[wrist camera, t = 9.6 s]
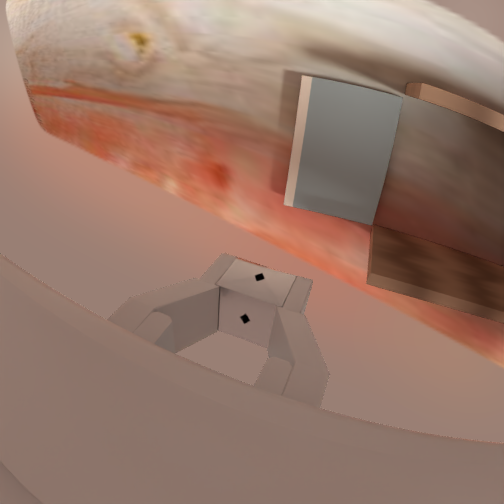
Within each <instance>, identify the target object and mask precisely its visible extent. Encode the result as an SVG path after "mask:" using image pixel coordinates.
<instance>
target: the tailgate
mask: <svg viewBox="0 0 504 504" xmlns="http://www.w3.org/2000/svg"><path fill="white" fill-rule="evenodd" d="M402 100H403V98H402V97H399V96H396V95H392V94H388V93H385V92H381V91H377V90H373V89H369V88H365V87H361V86H356V85H352V84H347V83H342V82H338V81H332V80H327V79H322V78H316V77H310V76H304V75H302V79H301V87H300V94H299V102H298V109H297V117H296V124H295V131H294V138H293V145H292V152H291V159H290V166H289V172H288V179H287V186H286V192H285V199H284V205H286V206H290V207H296V208H301V209H305V210H309V211H314V212H318V213H322V214H327V215H331V216H335V217H339V218H344V219H348V220H352V221H356V222H360V223H364V224H368V225H372V223H373V220H374V216H375V213H376V209H377V206H378V202H379V199H380V195H381V191H382V188H383V184H384V180H385V176H386V172H387V168H388V164H389V160H390V156H391V152H392V148H393V143H394V139H395V134H396V130H397V125H398V120H399V115H400V110H401V105H402Z"/></svg>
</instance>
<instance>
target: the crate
mask: <svg viewBox="0 0 504 504" xmlns="http://www.w3.org/2000/svg"><path fill="white" fill-rule="evenodd" d="M405 95H408V96H411V97H415V98H418V99H421V100H424V101H427V102H430V103H433V104H436V105H439V106H441V107H444V108H447V109H450V110H452V111H455V112H458V113H460V114H463V115H465V116H468V117H470V118H473V119H475V120H478V121H480V122H482V123H485V124H487V125H489V126H491V127H494V128H496V129H498V130H500V131H502V132H504V115H502V114H500V113H498V112H496V111H494V110H492V109H490V108H487V107H485V106H483V105H480V104H478V103H476V102H473V101H471V100H469V99H466V98H464V97H461V96H458V95H456V94H453V93H451V92H448V91H445V90H442V89H439V88H437V87H434V86H431V85H428V84H425V83H407V86H406V91H405ZM366 284H369V285H372V286H375V287H379V288H382V289H386V290H389V291H393V292H396V293H400V294H403V295H407V296H410V297H414V298H417V299H421V300H424V301H428V302H431V303H435V304H438V305H442V306H445V307H448V308H452V309H455V310H459V311H462V312H466V313H469V314H473V315H476V316H480V317H483V318H487V319H490V320H494V321H497V322H501V323H504V267H503V266H500V265H497V264H495V263H492V262H489V261H486V260H484V259H481V258H478V257H475V256H472V255H469V254H466V253H463V252H460V251H457V250H454V249H451V248H448V247H445V246H442V245H439V244H436V243H433V242H430V241H427V240H424V239H420V238H417V237H414V236H411V235H408V234H404V233H401V232H398V231H394V230H391V229H388V228H384V227H381V226H378V225H374V224H373V227H372V231H371V235H370V249H369V262H368V273H367V283H366Z"/></svg>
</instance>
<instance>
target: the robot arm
mask: <svg viewBox="0 0 504 504" xmlns="http://www.w3.org/2000/svg"><path fill="white" fill-rule="evenodd" d="M312 283H313V280H311V279H307V278H304V277H300V276H295V275H291V274H288V273H284V272H281V271H278V270H275V269H271V268H268V267H266V266H263V265H260V264H257V263H254V262H251V261H248V260H245V259H242V258H238V257H236V256H233V255H229V254H227V253H223V254H221V255H220V256H219V257H218V258H217V259H216V260H215V262H214V263H213V264H212V265H211V266H210V267H209V269H208V270H207V271H206V272H205V273H204V274H203V275H202V276H201V278H200V279H197V278H193V279H189V280H187V281H183V282H180V283H176V284H173V285H170V286H166V287H163V288H160V289H157V290H153V291H150V292H146V293H143V294H140V295H136V296H133V297H130V298H129V299H128V300H127V301H126V302H125V303H124V304H123V305H121V306H120V307H119V308H118V310H116V311H115V312H114V314H112V315H111V316H110V317H109V318H108V319H104V318H103V317H101V316H99V315H97V314H96V313H94V312H92V311H90V310H88V309H87V308H85V307H83V306H81V305H80V304H78V303H76V302H75V301H73V300H71V299H69V298H68V297H66V296H64V295H63V294H61V293H60V292H58V291H56V290H55V289H53V288H51V287H50V286H48V285H47V284H45V283H44V282H42V281H40V280H39V279H37V278H36V277H34V276H33V275H31V274H30V273H28V272H27V271H25V270H24V269H22V268H21V267H19V266H18V265H16V264H15V263H13V262H12V261H11V260H9V259H8V258H6V257H5V256H3V255H2V254H1V253H0V504H504V443H496V442H485V441H476V440H468V439H460V438H453V437H446V436H440V435H434V434H428V433H422V432H417V431H412V430H406V429H402V428H397V427H392V426H387V425H383V424H379V423H375V422H370V421H366V420H362V419H358V418H354V417H350V416H347V415H343V414H340V413H336V412H332V411H329V410H325V409H322V408H320V406H321V403H322V399H323V396H324V392H325V389H326V386H327V382H328V378H329V375H330V373H329V371H328V368H327V366H326V363H325V361H324V359H323V356H322V354H321V351H320V349H319V347H318V344H317V342H316V339H315V337H314V335H313V332H312V330H311V328H310V325H309V323H308V321H307V318H306V316H305V315H304V311H305V308H306V305H307V301H308V298H309V294H310V291H311V287H312ZM217 330H218V331H221V332H224V333H227V334H230V335H233V336H236V337H239V338H242V339H245V340H247V341H249V342H252V343H254V344H257V345H260V346H262V347H265V348H267V351H268V356H269V358H268V359H267V360H266V362H265V364H264V366H263V369H262V370H261V372H260V374H259V376H258V379H257V380H256V383H255V384H254V386H253V385H250V384H247V383H245V382H242V381H239V380H236V379H234V378H232V377H229V376H227V375H224V374H222V373H219V372H217V371H214V370H212V369H209V368H207V367H205V366H202V365H200V364H198V363H195V362H193V361H191V360H188V359H186V358H184V357H181V356H179V355H177V354H176V353H177V352H179V351H181V350H183V349H185V348H187V347H189V346H191V345H193V344H194V343H196V342H198V341H200V340H202V339H204V338H206V337H208V336H210V335H212V334H214V333H215V332H217Z"/></svg>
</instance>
